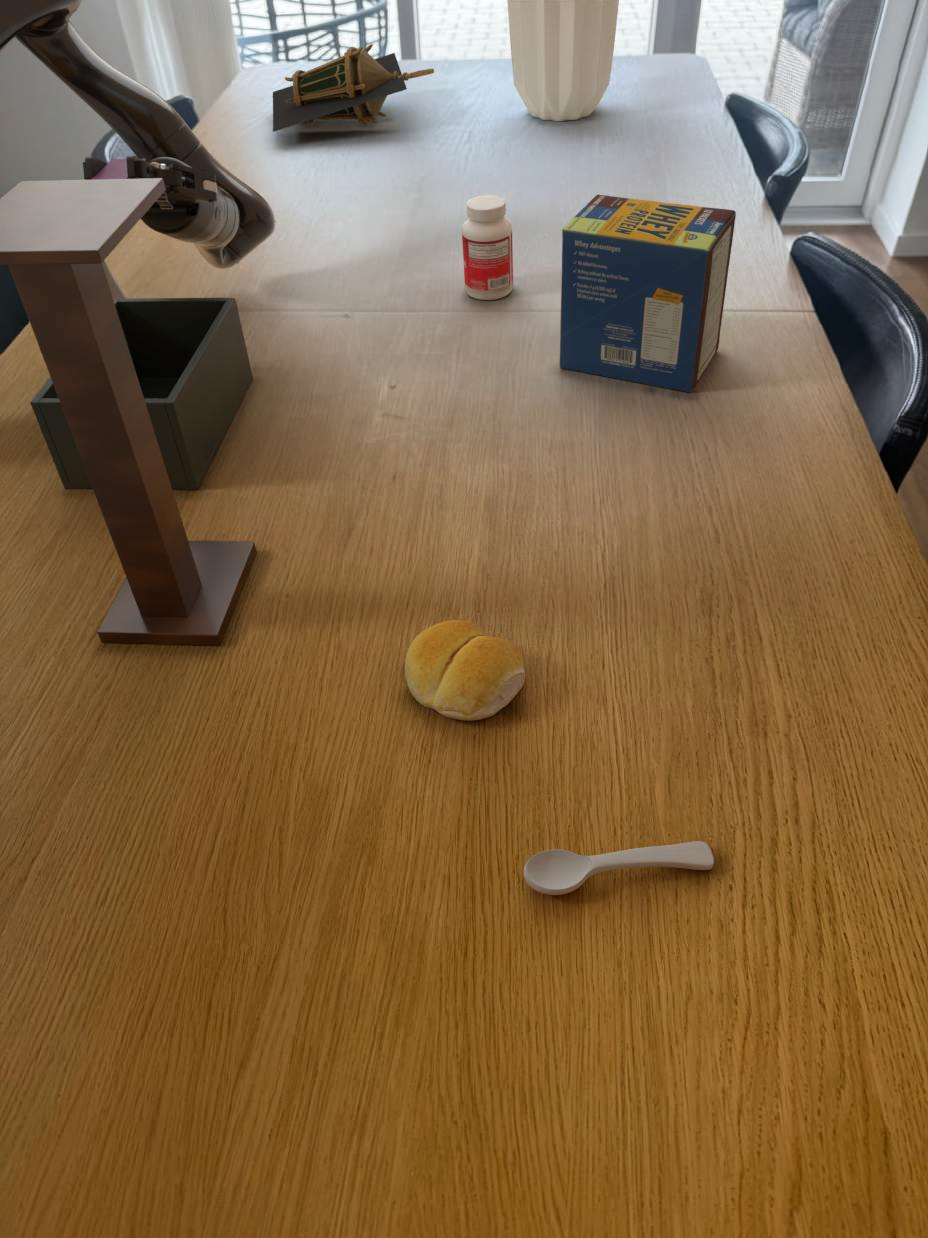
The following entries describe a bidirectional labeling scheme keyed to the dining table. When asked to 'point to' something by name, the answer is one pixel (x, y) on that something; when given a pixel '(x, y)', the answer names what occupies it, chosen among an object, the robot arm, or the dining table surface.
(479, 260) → the pill bottle
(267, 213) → the robot arm
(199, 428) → the trash bin
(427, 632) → the bread roll
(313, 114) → the lantern
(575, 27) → the vase
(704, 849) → the spoon
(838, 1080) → the dining table surface
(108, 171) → the pink rectangular block
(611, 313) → the protein box
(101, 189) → the shelf stand
